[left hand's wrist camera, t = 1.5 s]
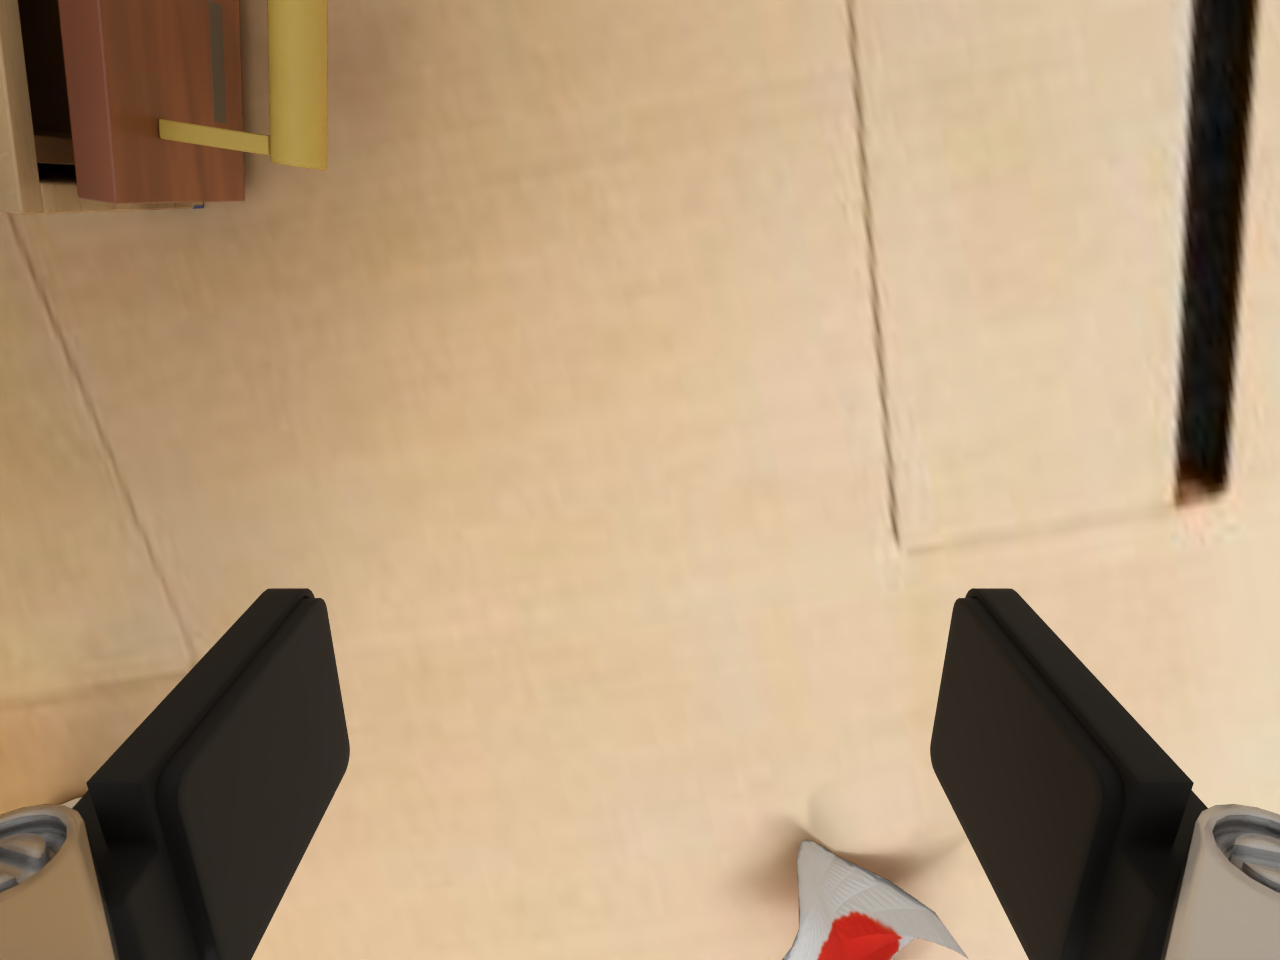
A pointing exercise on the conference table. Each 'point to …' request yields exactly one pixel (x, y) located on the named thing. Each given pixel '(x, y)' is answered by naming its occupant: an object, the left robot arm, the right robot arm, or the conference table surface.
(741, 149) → the conference table surface
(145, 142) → the drawer
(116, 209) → the cabinet
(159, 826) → the left robot arm
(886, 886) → the fish
